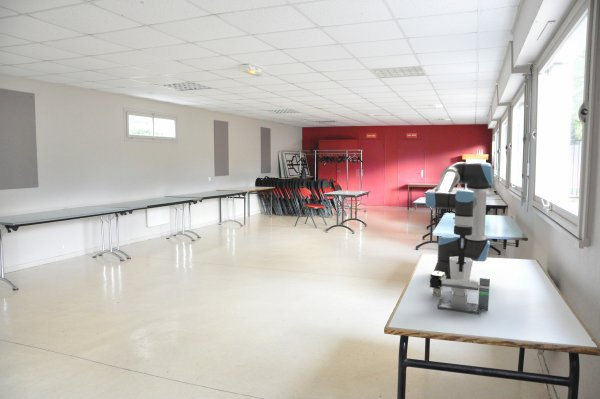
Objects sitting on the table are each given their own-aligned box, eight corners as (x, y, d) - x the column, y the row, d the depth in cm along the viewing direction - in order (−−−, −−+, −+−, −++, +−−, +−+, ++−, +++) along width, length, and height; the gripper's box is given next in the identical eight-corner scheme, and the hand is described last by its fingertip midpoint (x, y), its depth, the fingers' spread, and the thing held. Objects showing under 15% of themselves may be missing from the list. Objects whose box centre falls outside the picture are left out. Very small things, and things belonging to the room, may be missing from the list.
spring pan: (488, 297, 189) (488, 283, 188) (488, 303, 181) (489, 289, 180) (442, 291, 196) (442, 278, 195) (440, 297, 188) (441, 283, 187)
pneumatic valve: (428, 297, 202) (429, 272, 201) (435, 291, 212) (436, 267, 211) (440, 299, 200) (441, 274, 198) (446, 293, 209) (447, 269, 208)
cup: (472, 297, 204) (474, 262, 203) (449, 295, 206) (451, 260, 205) (467, 290, 215) (469, 257, 214) (446, 288, 217) (448, 255, 216)
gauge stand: (487, 307, 190) (489, 276, 189) (488, 315, 180) (490, 283, 179) (439, 301, 198) (440, 271, 196) (437, 308, 188) (439, 277, 186)
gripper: (454, 222, 193) (451, 273, 196) (453, 226, 181) (450, 281, 184) (472, 224, 191) (469, 275, 193) (472, 228, 179) (469, 283, 181)
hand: (460, 278), depth 188 cm, fingers closed
